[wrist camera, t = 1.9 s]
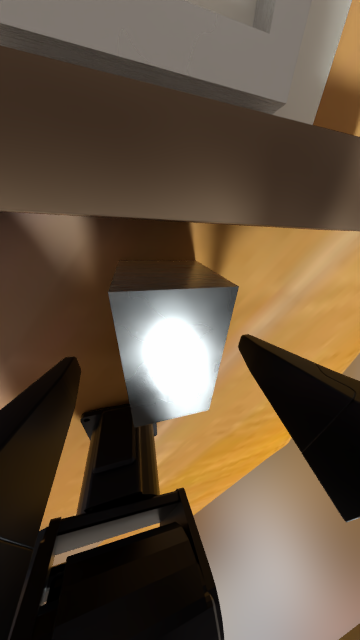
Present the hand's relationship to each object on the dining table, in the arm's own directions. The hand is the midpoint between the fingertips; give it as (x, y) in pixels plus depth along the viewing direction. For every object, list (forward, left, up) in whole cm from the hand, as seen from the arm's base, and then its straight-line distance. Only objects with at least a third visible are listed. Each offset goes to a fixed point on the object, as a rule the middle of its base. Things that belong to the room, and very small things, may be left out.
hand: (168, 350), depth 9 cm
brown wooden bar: (+8, 0, -3) cm, 8 cm away
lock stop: (0, 0, -3) cm, 3 cm away
